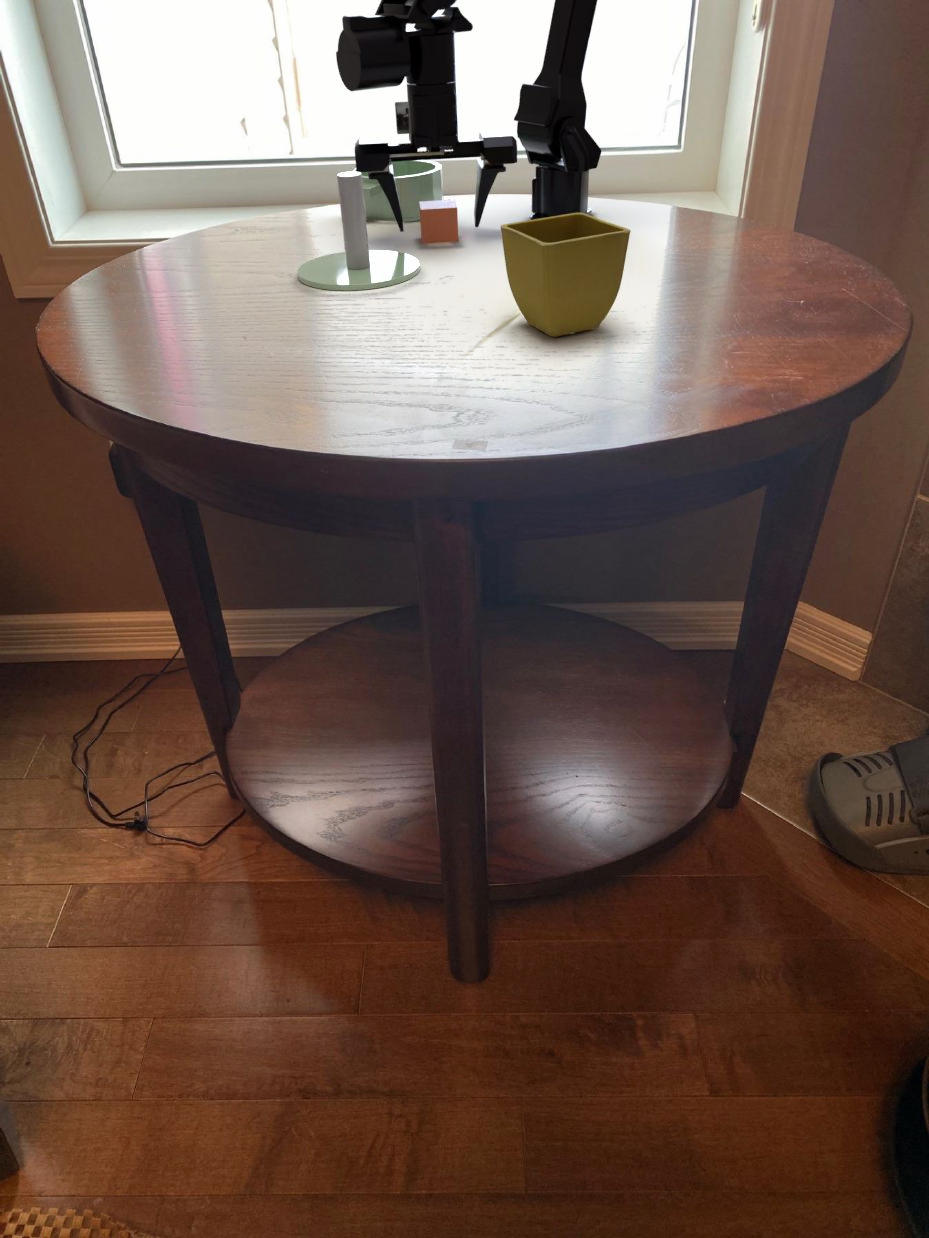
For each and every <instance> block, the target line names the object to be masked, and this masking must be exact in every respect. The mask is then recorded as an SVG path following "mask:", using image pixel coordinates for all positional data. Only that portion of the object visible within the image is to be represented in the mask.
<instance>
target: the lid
mask: <svg viewBox="0 0 929 1238" xmlns="http://www.w3.org/2000/svg"><path fill="white" fill-rule="evenodd" d="M336 181H337V189H338V198H339V199H338V200H339V208H340V216H341V226H342V235H343V242H344V243H343V244H344V251H340V252H334V253H330V254H326V255H322V256H318V257H315V258H312V259H310V260H307V261H305V262H304V263H302V264H301V265H300V266H299V267H298V269H297V278H298V281H300V282H301V283H302V284H304V285H306V286H309V287H312V288H315V289H321V290H326V291H327V290H329V291H346V292H347V291H349V292H350V291H364V290H365V291H366V290H373V289H380V288H386V287H390V286H394V285H398V284H401V283H403V282H406V281H409V280H411V279H413V278H414V277H415V276H417V275H418V274H419V272H420V271H421V263H420V261H419V259H418V258H417V257H415V256H413V255H412V254H409V253H404V252H401V251H394V250H386V249H385V250H384V249H370V248H369V247H370V246H369V238H368V236H369V235H368V226H367V219H366V215H365V204H364V194H363V184H362V174H361V173H360V172H348V171H344V172H339V173H337V175H336Z"/></svg>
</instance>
